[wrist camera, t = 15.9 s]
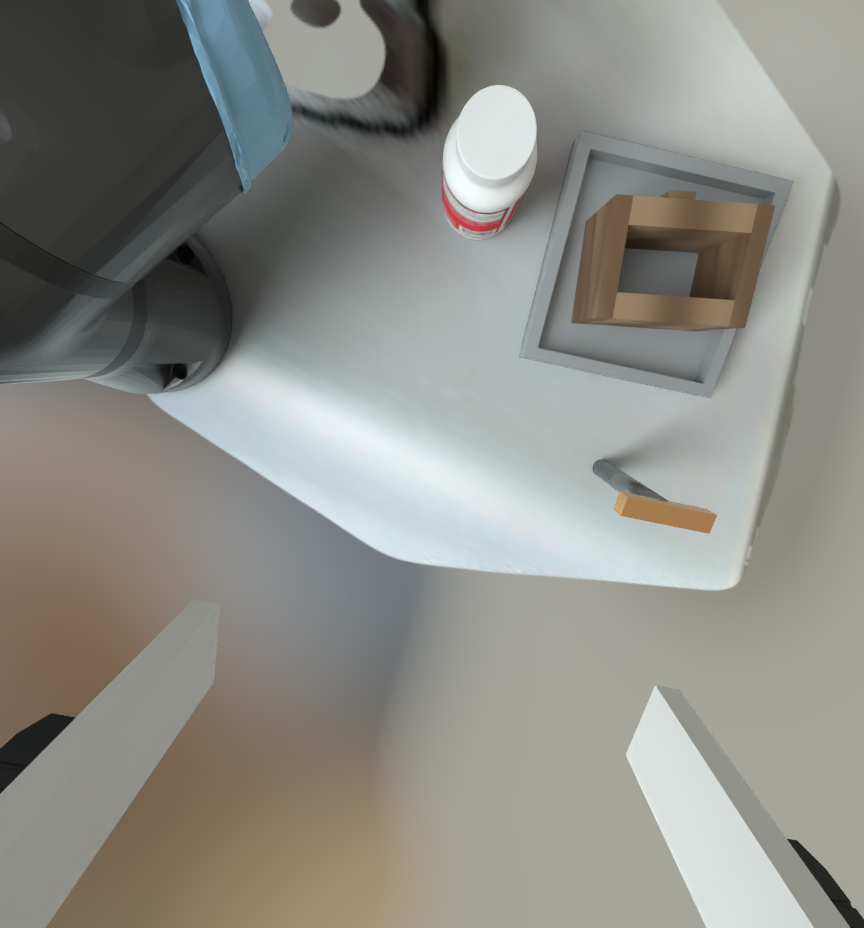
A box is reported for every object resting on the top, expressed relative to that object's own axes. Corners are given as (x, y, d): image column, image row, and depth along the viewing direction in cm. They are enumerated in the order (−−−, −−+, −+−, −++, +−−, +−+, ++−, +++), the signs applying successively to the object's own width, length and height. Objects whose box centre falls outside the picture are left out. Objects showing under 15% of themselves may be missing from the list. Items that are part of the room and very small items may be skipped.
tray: (518, 357, 38) (523, 357, 36) (573, 143, 33) (581, 130, 31) (696, 395, 38) (710, 397, 36) (773, 191, 34) (793, 181, 32)
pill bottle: (493, 141, 33) (519, 41, 23) (529, 214, 35) (569, 151, 24) (427, 188, 34) (423, 112, 23) (465, 256, 35) (477, 215, 25)
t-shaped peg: (567, 469, 40) (620, 516, 28) (571, 453, 40) (627, 495, 28) (629, 482, 40) (708, 534, 29) (635, 466, 40) (717, 513, 28)
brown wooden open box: (570, 323, 36) (596, 317, 30) (588, 205, 34) (619, 174, 28) (695, 331, 36) (744, 327, 30) (721, 214, 34) (780, 185, 28)
